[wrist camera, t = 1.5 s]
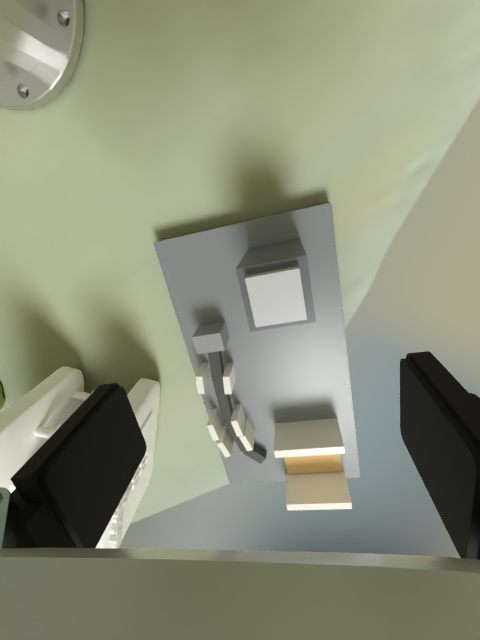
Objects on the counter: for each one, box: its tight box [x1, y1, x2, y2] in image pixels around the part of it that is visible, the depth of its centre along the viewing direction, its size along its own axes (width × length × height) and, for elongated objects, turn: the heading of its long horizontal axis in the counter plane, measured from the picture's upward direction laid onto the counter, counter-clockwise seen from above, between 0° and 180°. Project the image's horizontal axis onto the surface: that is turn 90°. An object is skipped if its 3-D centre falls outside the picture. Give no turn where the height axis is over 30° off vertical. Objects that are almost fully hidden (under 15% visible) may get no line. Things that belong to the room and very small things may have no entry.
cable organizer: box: [0, 366, 160, 548], centre depth 29 cm, size 15×11×12 cm
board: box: [154, 202, 360, 510], centre depth 27 cm, size 27×14×5 cm, turn 13°
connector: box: [236, 238, 316, 332], centre depth 20 cm, size 4×4×8 cm
